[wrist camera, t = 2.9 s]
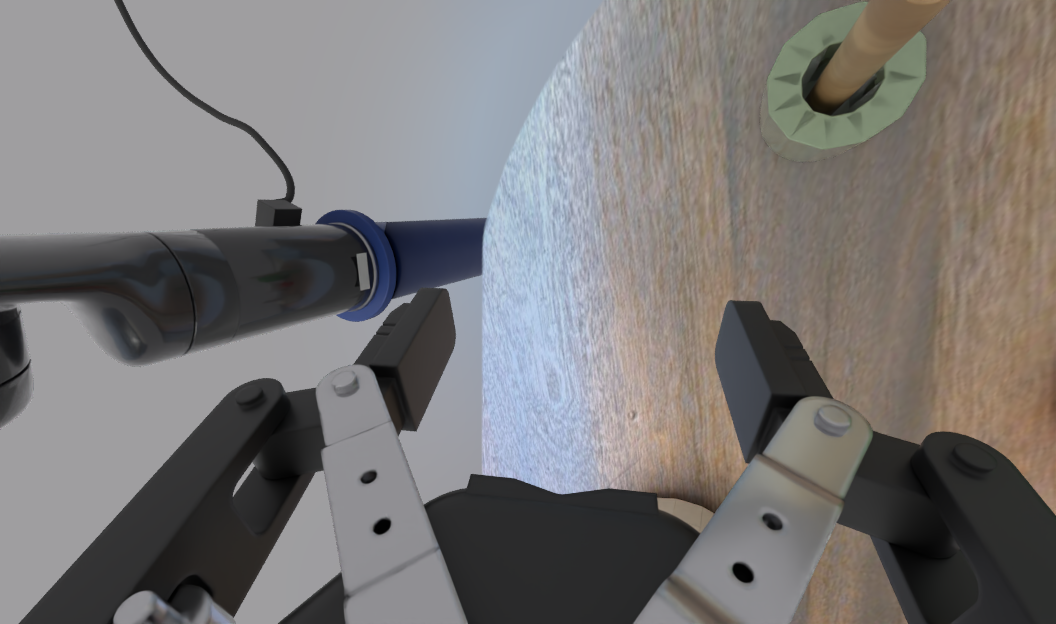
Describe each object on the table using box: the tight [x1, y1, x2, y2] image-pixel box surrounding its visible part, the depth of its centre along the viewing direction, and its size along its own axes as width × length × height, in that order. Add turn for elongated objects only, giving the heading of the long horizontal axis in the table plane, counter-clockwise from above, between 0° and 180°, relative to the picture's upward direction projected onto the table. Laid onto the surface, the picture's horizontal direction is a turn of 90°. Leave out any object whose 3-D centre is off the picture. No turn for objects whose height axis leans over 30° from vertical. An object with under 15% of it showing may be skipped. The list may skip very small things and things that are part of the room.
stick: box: [805, 0, 951, 116], centre depth 19 cm, size 2×2×18 cm
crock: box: [760, 1, 926, 162], centre depth 24 cm, size 6×6×8 cm
